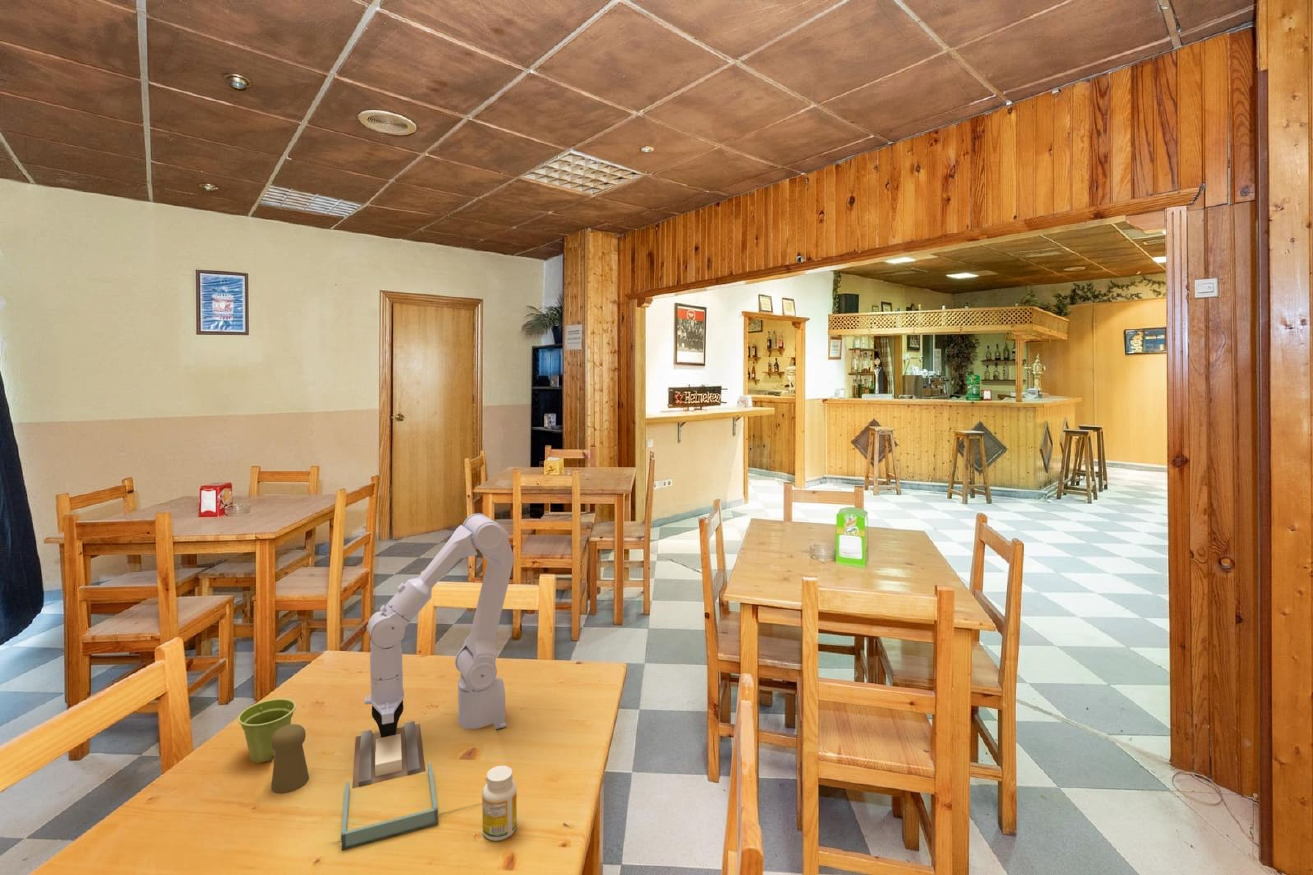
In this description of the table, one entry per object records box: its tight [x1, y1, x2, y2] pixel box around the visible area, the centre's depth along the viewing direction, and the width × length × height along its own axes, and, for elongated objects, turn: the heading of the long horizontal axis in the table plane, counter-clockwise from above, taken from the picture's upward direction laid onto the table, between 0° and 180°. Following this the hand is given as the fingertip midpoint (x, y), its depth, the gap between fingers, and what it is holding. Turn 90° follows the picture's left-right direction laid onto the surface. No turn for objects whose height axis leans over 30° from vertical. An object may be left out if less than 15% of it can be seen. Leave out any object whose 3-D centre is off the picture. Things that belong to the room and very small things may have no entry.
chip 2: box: [375, 746, 402, 777], centre depth 112 cm, size 4×4×2 cm
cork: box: [270, 723, 310, 795], centre depth 107 cm, size 6×6×11 cm
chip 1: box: [376, 734, 402, 756], centre depth 116 cm, size 4×4×2 cm
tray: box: [340, 762, 439, 851], centre depth 102 cm, size 14×13×2 cm
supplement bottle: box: [481, 765, 518, 842], centre depth 98 cm, size 5×5×10 cm
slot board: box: [351, 720, 426, 789], centre depth 117 cm, size 12×17×2 cm
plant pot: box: [237, 698, 297, 764], centre depth 117 cm, size 9×9×9 cm
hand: (388, 740), depth 119 cm, fingers closed
